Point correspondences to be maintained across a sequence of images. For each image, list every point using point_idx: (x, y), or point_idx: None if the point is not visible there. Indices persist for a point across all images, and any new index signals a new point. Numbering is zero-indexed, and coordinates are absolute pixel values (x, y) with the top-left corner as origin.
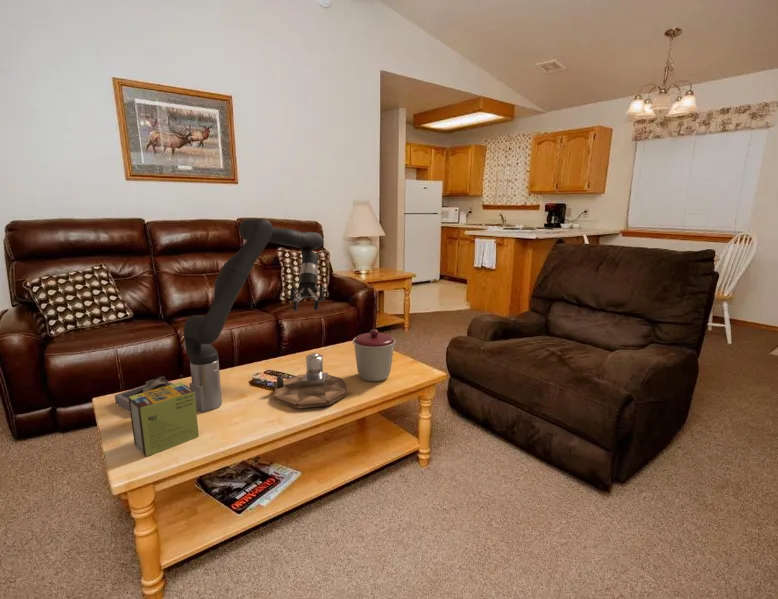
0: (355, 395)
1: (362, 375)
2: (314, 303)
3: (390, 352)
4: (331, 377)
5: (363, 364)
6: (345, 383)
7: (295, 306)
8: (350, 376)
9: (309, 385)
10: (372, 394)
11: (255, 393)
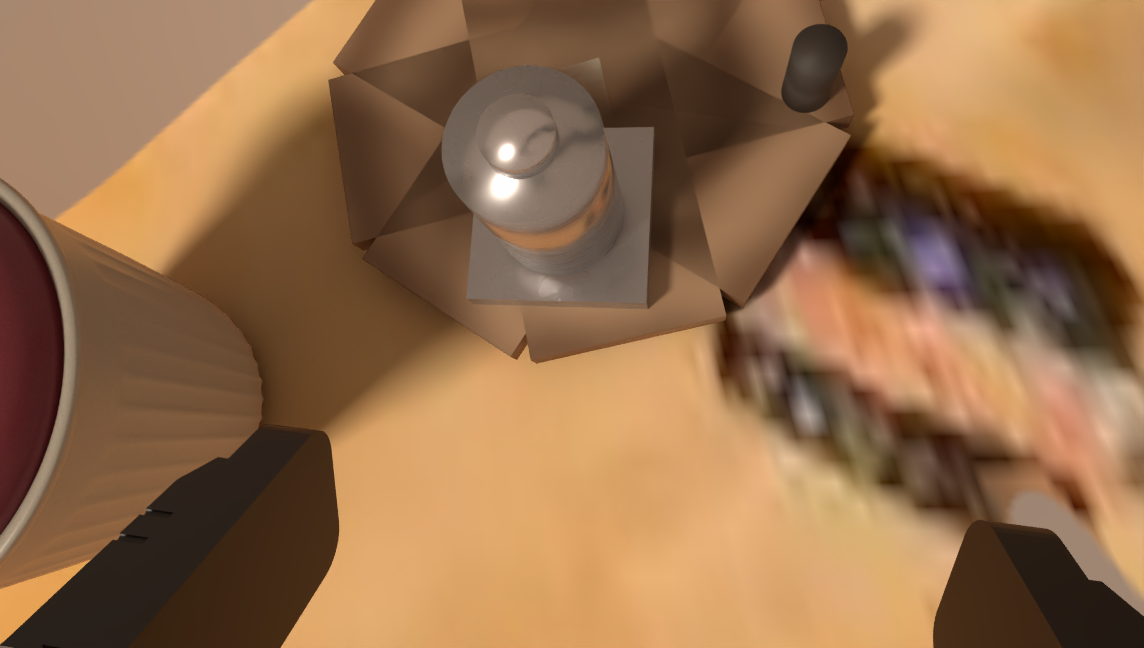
0: (302, 115)
1: (225, 317)
2: (193, 570)
3: None
4: (448, 280)
5: (148, 271)
6: (343, 180)
7: (1063, 606)
8: (336, 419)
9: None
10: (205, 136)
11: (986, 89)
